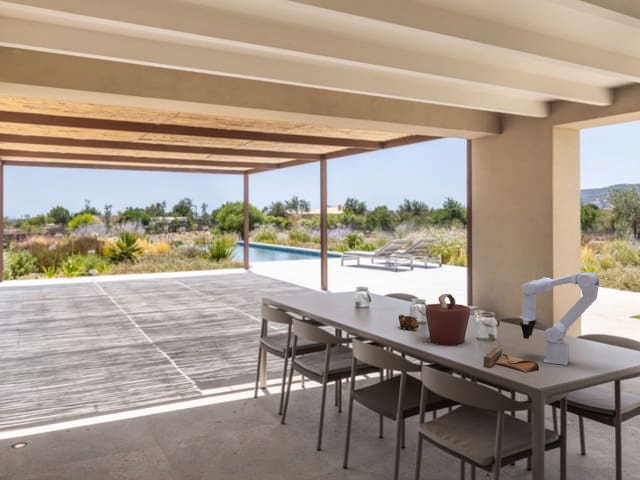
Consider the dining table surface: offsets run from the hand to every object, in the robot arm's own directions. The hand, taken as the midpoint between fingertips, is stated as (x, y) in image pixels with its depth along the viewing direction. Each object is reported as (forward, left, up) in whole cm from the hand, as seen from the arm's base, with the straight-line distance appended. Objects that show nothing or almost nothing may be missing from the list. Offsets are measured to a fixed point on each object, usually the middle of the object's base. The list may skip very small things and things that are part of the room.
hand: (527, 337), depth 239 cm
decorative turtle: (+71, -29, -10) cm, 77 cm away
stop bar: (+11, +18, -9) cm, 23 cm away
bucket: (+42, -9, -10) cm, 44 cm away
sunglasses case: (+1, +20, -10) cm, 23 cm away
